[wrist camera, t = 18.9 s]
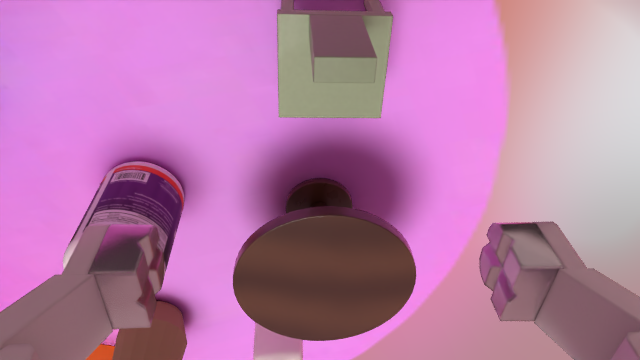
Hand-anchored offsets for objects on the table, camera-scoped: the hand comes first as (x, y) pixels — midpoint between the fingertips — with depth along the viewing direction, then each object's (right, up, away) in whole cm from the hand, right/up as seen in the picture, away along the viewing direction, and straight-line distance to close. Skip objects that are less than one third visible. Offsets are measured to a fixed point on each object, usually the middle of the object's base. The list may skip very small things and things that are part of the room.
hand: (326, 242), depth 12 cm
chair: (0, +13, +29) cm, 32 cm away
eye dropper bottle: (-5, -15, +49) cm, 52 cm away
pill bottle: (-18, +1, +37) cm, 41 cm away
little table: (0, -1, +39) cm, 39 cm away
